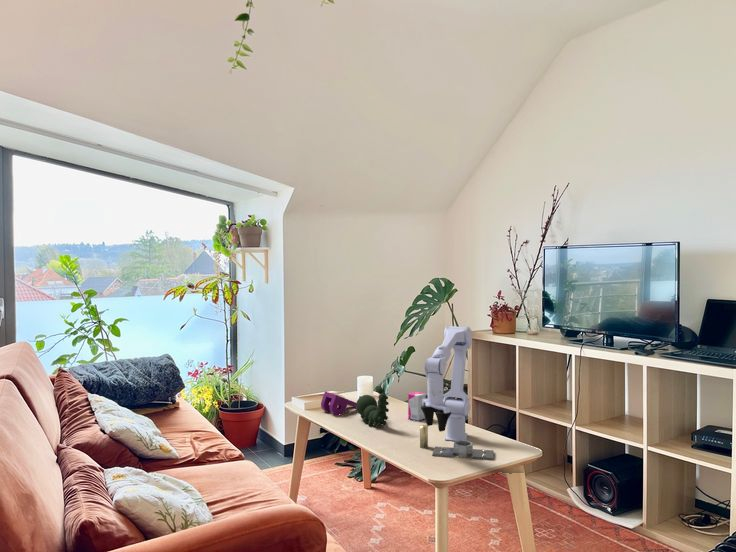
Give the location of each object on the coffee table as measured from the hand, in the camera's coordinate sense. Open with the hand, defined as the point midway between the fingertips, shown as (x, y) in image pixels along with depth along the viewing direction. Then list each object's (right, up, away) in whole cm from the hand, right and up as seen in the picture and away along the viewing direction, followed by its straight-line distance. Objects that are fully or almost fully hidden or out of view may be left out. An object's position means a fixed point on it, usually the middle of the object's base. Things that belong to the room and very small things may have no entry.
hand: (435, 428), depth 206 cm
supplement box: (-3, -8, +45) cm, 46 cm away
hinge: (+10, -10, 0) cm, 14 cm away
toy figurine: (-23, -9, +40) cm, 47 cm away
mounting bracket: (-36, -9, +61) cm, 71 cm away
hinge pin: (-3, -9, +8) cm, 13 cm away
